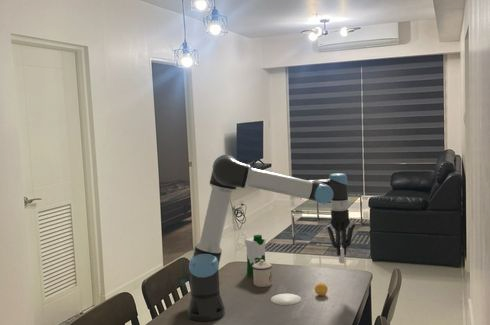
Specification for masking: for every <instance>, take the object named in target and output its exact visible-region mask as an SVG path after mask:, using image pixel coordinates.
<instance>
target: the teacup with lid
mask: <svg viewBox="0 0 490 325" xmlns="http://www.w3.org/2000/svg"><path fill="white" fill-rule="evenodd" d="M272 268H273V265H272V264H271V263H270V262H267V261H265V262H264V260H260V262H258V263H256V264H254V265H253V276H252V277H253V285H254V286H256V287H258V288H259V287H260V288H264V287H269V286H271V285H272V284H273V277H272V276H273V275H272Z"/></svg>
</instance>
